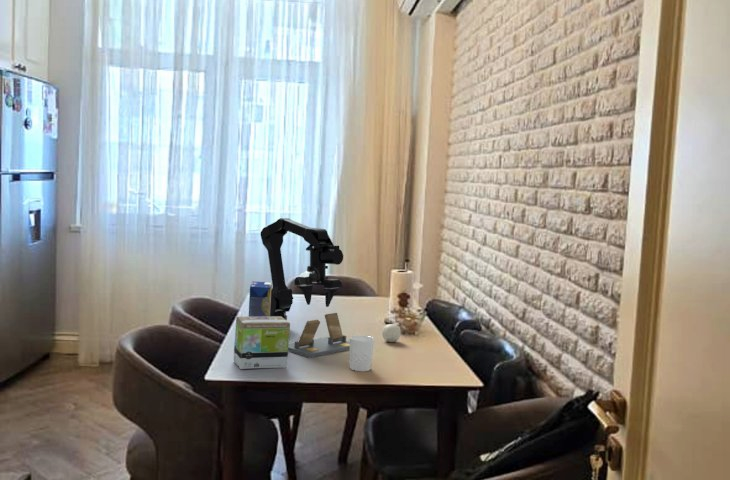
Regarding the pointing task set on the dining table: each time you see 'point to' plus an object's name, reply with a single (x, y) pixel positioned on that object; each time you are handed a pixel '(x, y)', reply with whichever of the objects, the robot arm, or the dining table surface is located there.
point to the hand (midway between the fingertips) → (317, 305)
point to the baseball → (391, 333)
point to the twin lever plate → (319, 347)
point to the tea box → (261, 342)
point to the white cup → (361, 352)
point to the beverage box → (260, 299)
